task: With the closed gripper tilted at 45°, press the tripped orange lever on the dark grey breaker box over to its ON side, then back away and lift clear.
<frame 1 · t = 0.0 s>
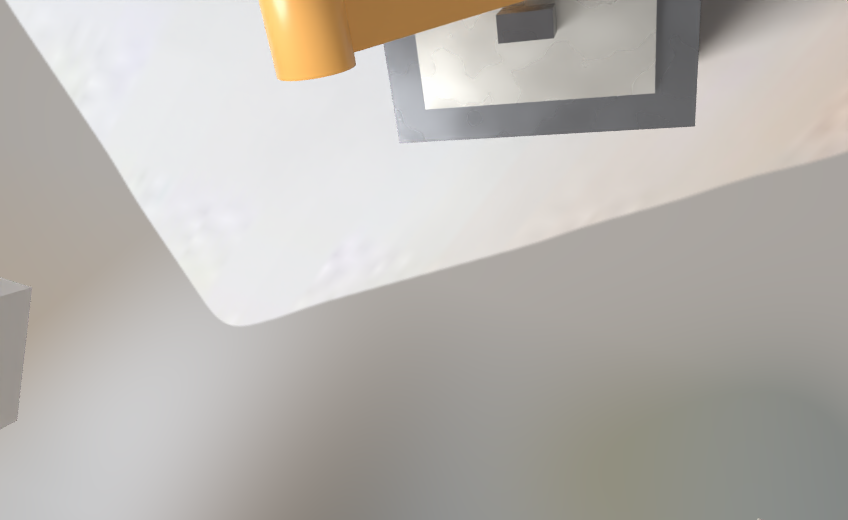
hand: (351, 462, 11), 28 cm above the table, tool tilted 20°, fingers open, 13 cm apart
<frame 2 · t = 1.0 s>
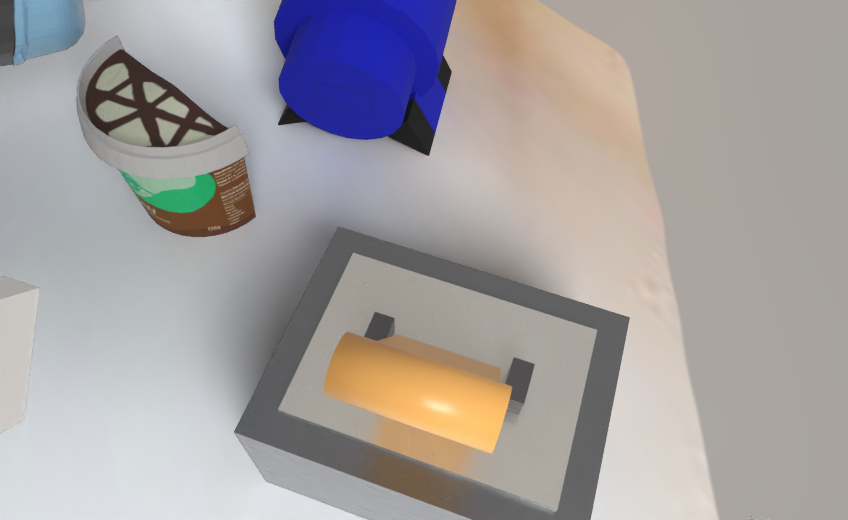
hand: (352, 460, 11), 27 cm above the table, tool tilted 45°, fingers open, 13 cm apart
breaker box: (433, 429, 39), on the table
alarm clock: (365, 107, 53), on the table
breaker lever: (432, 376, 25), point 15 cm above the table, hinge at -30.0°
food container: (179, 208, 47), on the table
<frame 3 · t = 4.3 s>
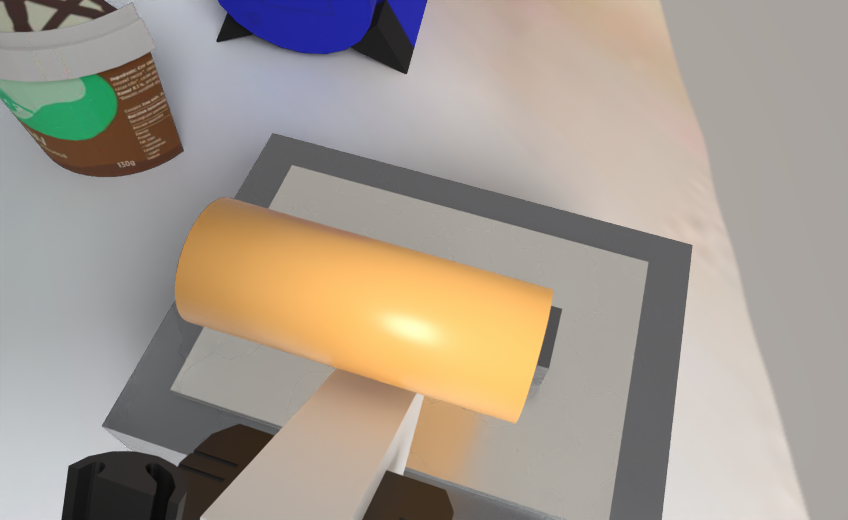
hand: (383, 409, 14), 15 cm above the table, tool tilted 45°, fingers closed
breaker box: (417, 416, 29), on the table
alarm clock: (327, 20, 43), on the table
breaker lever: (401, 310, 15), point 15 cm above the table, hinge at -27.5°, touching gripper
food container: (85, 143, 37), on the table
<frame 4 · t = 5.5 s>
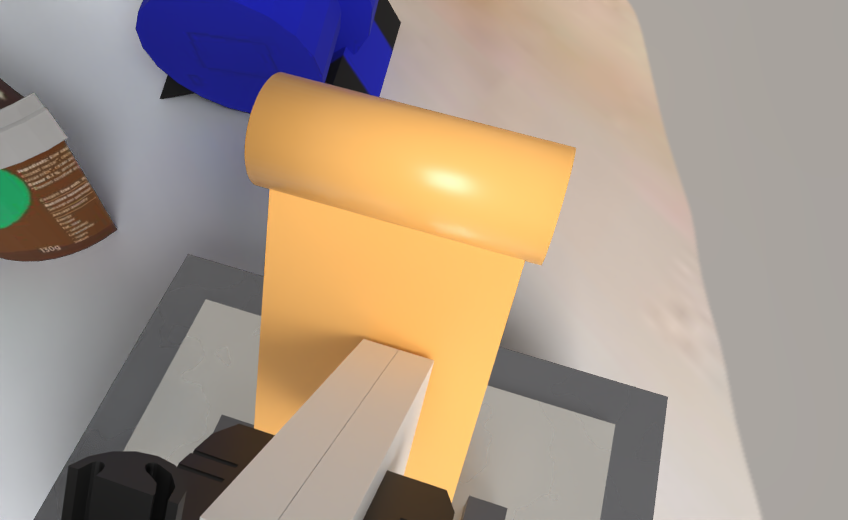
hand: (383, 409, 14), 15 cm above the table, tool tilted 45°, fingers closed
alarm clock: (283, 72, 39), on the table
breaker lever: (379, 339, 14), point 15 cm above the table, hinge at 29.4°, touching gripper
food container: (9, 220, 33), on the table
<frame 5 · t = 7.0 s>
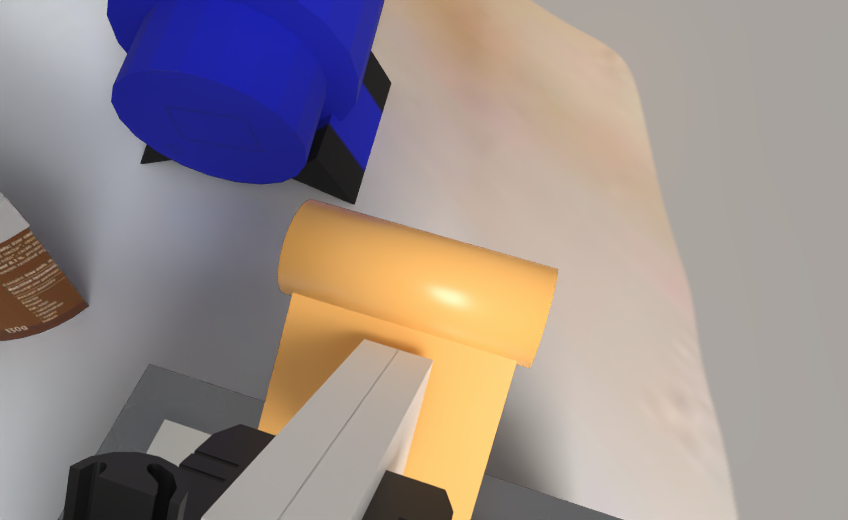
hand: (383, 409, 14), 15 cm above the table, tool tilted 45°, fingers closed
alarm clock: (268, 134, 38), on the table
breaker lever: (370, 455, 15), point 13 cm above the table, hinge at 52.2°
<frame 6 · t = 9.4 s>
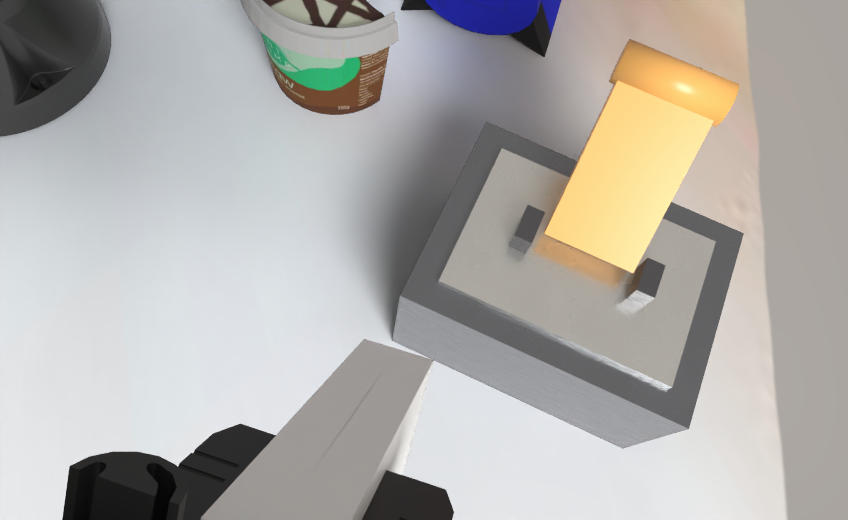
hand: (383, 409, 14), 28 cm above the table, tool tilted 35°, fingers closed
breaker box: (538, 312, 44), on the table
alarm clock: (484, 0, 54), on the table
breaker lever: (633, 160, 33), point 13 cm above the table, hinge at 52.3°
food container: (307, 84, 50), on the table
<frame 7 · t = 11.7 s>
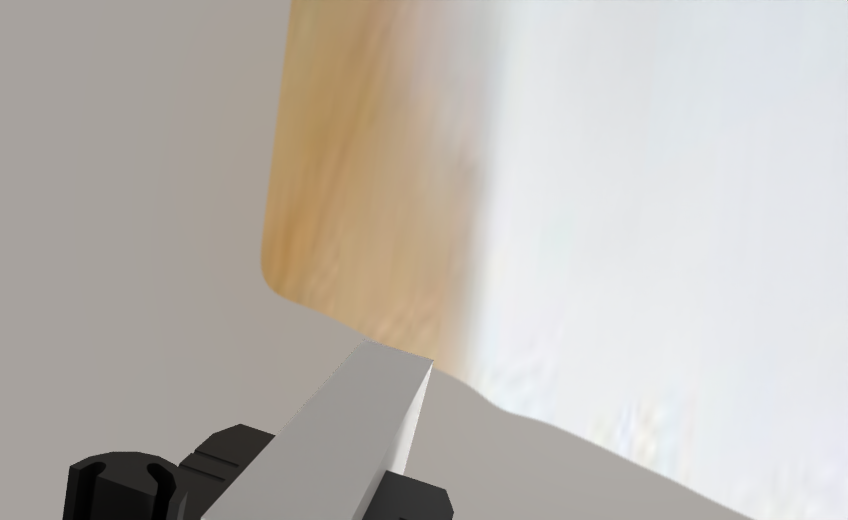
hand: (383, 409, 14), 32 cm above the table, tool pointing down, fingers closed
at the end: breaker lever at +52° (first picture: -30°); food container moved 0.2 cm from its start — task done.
